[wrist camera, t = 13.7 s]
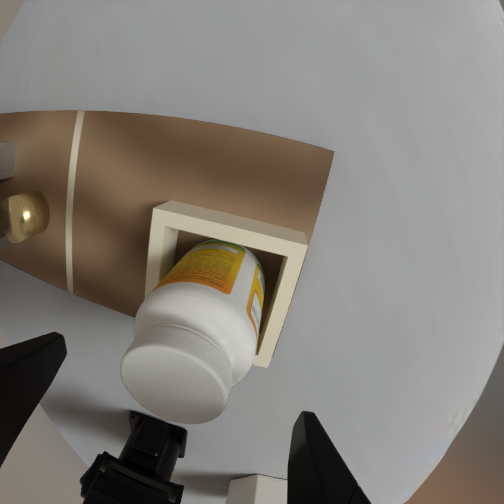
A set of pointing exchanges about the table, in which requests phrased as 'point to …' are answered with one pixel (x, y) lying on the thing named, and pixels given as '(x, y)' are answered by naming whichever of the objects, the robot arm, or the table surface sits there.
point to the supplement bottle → (196, 333)
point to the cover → (6, 175)
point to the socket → (236, 231)
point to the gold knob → (24, 215)
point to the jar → (257, 490)
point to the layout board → (148, 193)
